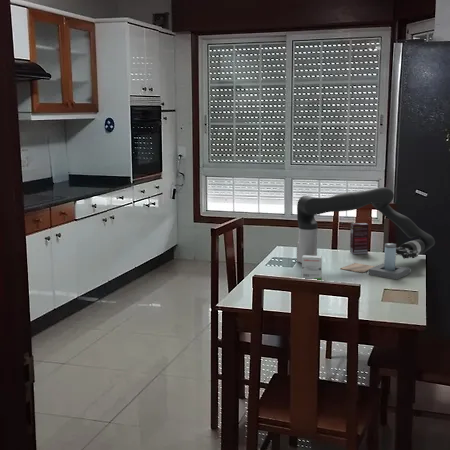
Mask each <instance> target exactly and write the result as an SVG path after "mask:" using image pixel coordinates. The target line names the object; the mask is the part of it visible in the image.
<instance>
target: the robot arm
mask: <svg viewBox="0 0 450 450" xmlns="http://www.w3.org/2000/svg"><path fill="white" fill-rule="evenodd" d="M394 195H395V194H394V192H393V191H392V189H390V187H384V186H383V187H378V188H372V189H367V190H359V191H347V192H340V193H336V194H335V195H334V194H333V195H332V196H327V197H315V196H314V197H313V196H311V195H302V196H301V197H300V198H299V199H298V201H297V204H296V205H297V206H296V218H297V220H296V221H297V224H298V242H297V243H296V262H298V263H301V264H302V257H303V255H309V256H318V221H316V218H315V216H317V215H322V214H326V213H331V212H332V213H336V212H349V211H354V210H358V209H361V208H363V207H365V206H368V205H371V206H372V207H374V209H376V210H377V211H378V212H380V214H382V215H384V216H385V217H386V218H387V219H388V220H390V221H391V222H392V223H394V224H395V225H396V226H397V227H398V228H399V229H400V230H401V231H402V232H403V233H404V234H405V236H406V237H407V238H408V239H413V238H415V237H419V239H414V240H410V241H406V242H404V243H401V245H400V246H399V247H396V256H399V257H400V256H401V257H402V258H403V260H405V259H410V258H411V259H414V258H417V257H419V255H423V254H425V253H426V252H427V251H429V250H430V249H431V248H432V247H434V246H435V244H436V241H435V238H434V237H433V236H432V235H431V234H430V233H428V232H426V231H424V230H422V229H421V228H420V227H418V226H417V224H416V223H415V222H414V221H413V220H412V219H411V218H409V217H408V216H406V215H404V214H401V213H400V212H398V211H397V210H395V209H393V207H391V206H390V204H391V203H392V201H393V200H394V197H395V196H394Z"/></svg>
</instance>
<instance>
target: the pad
mask: <svg viewBox="0 0 450 450" xmlns="http://www.w3.org/2000/svg"><path fill="white" fill-rule="evenodd" d="M373 267H375V265H370V264H364V263H358V262H353V263H350V264H348V265H345V266H343V267H340V268H339V269H340V270H343V271H349V272H355V273H361V274H364V273H367V272H369V269H370V268H373Z"/></svg>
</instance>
